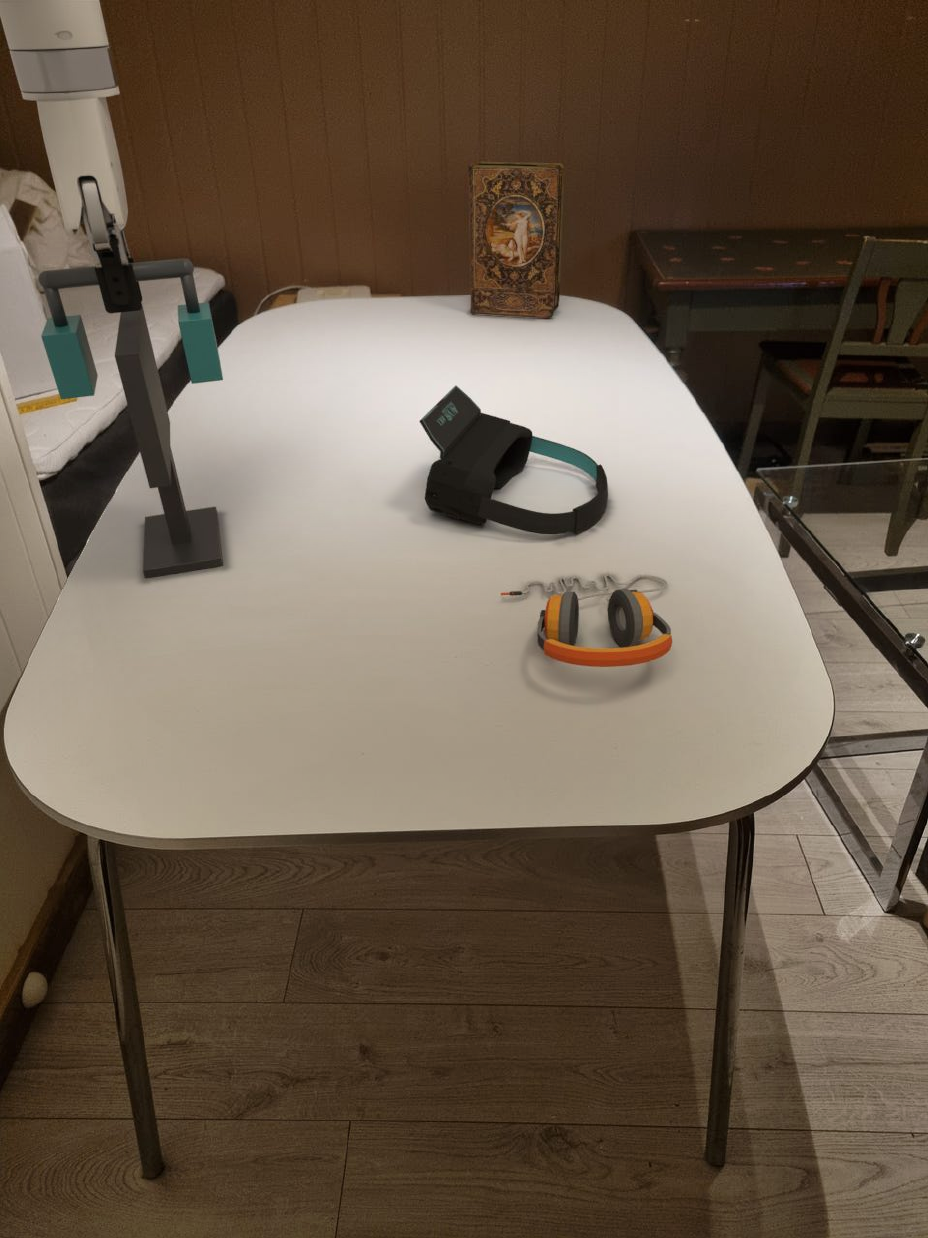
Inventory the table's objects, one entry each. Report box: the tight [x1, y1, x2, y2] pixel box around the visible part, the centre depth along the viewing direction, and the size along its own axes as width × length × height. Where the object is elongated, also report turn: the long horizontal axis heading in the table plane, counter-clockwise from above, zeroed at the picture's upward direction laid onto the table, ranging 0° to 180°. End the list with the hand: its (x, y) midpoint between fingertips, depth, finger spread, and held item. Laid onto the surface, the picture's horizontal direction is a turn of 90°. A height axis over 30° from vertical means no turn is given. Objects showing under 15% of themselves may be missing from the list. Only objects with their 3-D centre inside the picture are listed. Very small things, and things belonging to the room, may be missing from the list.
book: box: [467, 161, 565, 319], centre depth 155 cm, size 16×6×25 cm, turn 74°
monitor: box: [114, 305, 224, 579], centre depth 88 cm, size 8×16×24 cm, turn 16°
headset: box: [37, 258, 224, 400], centre depth 81 cm, size 15×6×11 cm, turn 106°
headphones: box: [500, 574, 673, 668], centre depth 79 cm, size 17×5×20 cm
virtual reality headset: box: [418, 385, 609, 536], centre depth 99 cm, size 19×22×10 cm
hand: (124, 306), depth 80 cm, fingers closed on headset
